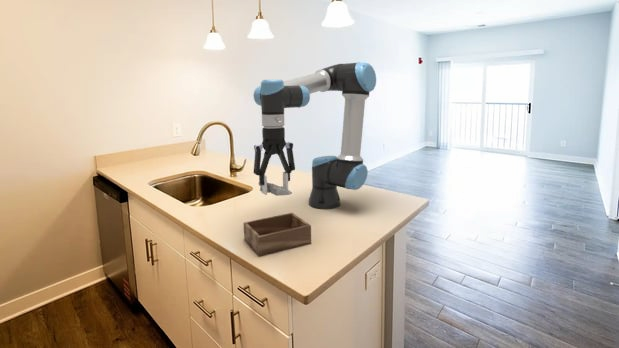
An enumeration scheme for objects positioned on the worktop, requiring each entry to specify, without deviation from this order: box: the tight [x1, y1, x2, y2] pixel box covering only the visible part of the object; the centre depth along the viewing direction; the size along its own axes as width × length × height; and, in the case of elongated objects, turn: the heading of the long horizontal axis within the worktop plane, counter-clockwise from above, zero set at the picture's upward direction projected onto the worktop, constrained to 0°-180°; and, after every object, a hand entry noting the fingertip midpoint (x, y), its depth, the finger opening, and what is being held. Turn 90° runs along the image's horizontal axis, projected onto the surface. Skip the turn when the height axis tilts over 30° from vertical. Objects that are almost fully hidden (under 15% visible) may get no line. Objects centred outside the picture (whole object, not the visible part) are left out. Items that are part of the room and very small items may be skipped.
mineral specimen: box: [258, 182, 293, 196], centre depth 123 cm, size 6×12×4 cm, turn 44°
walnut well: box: [243, 212, 312, 258], centre depth 127 cm, size 15×20×7 cm
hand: (275, 191), depth 123 cm, fingers closed on mineral specimen, 7 cm apart
